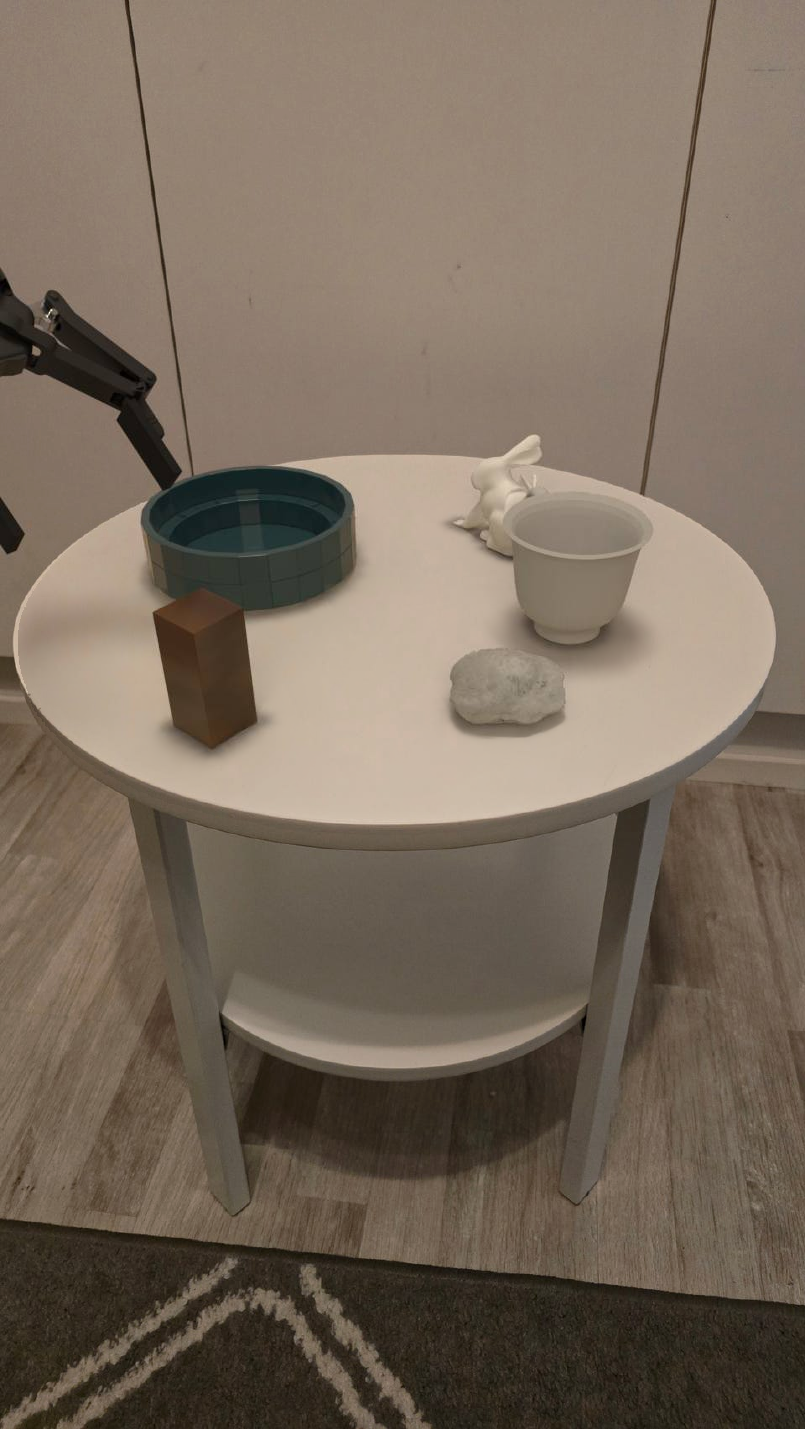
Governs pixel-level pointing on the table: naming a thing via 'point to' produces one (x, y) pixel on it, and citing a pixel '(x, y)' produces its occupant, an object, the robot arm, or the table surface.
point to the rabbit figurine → (501, 492)
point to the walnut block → (206, 666)
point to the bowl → (251, 535)
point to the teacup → (573, 559)
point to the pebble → (506, 687)
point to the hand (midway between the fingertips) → (99, 511)
